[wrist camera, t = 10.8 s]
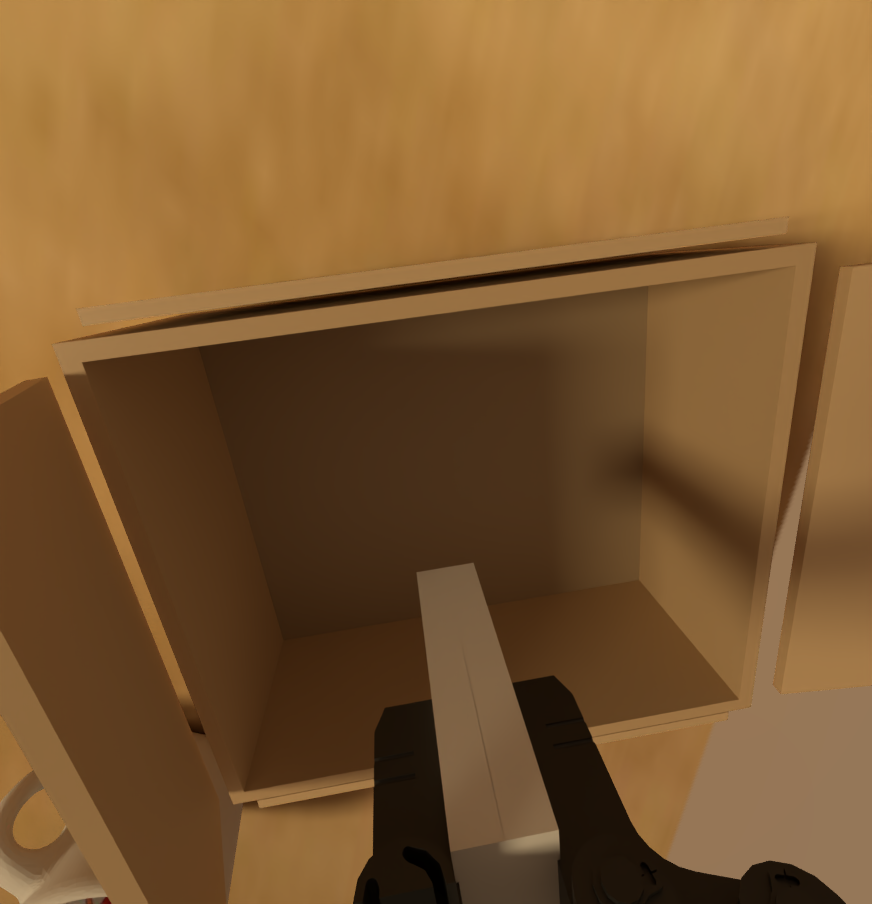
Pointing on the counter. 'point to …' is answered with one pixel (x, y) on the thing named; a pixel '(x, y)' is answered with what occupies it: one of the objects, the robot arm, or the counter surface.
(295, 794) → the carton
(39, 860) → the cup
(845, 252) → the counter surface
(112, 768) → the flap near
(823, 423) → the flap far
